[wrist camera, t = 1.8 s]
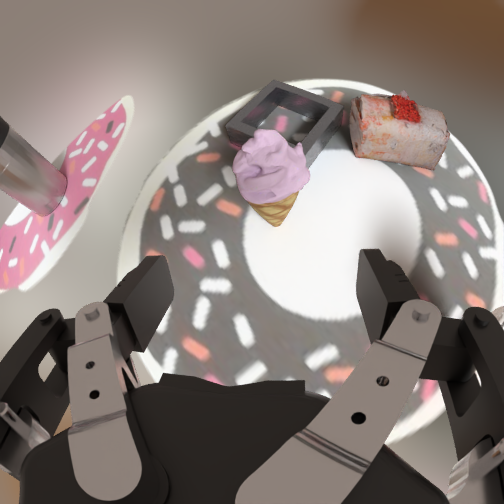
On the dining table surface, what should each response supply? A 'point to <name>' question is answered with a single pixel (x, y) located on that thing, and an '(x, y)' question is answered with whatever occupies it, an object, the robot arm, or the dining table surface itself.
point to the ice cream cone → (270, 174)
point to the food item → (397, 130)
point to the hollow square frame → (293, 100)
